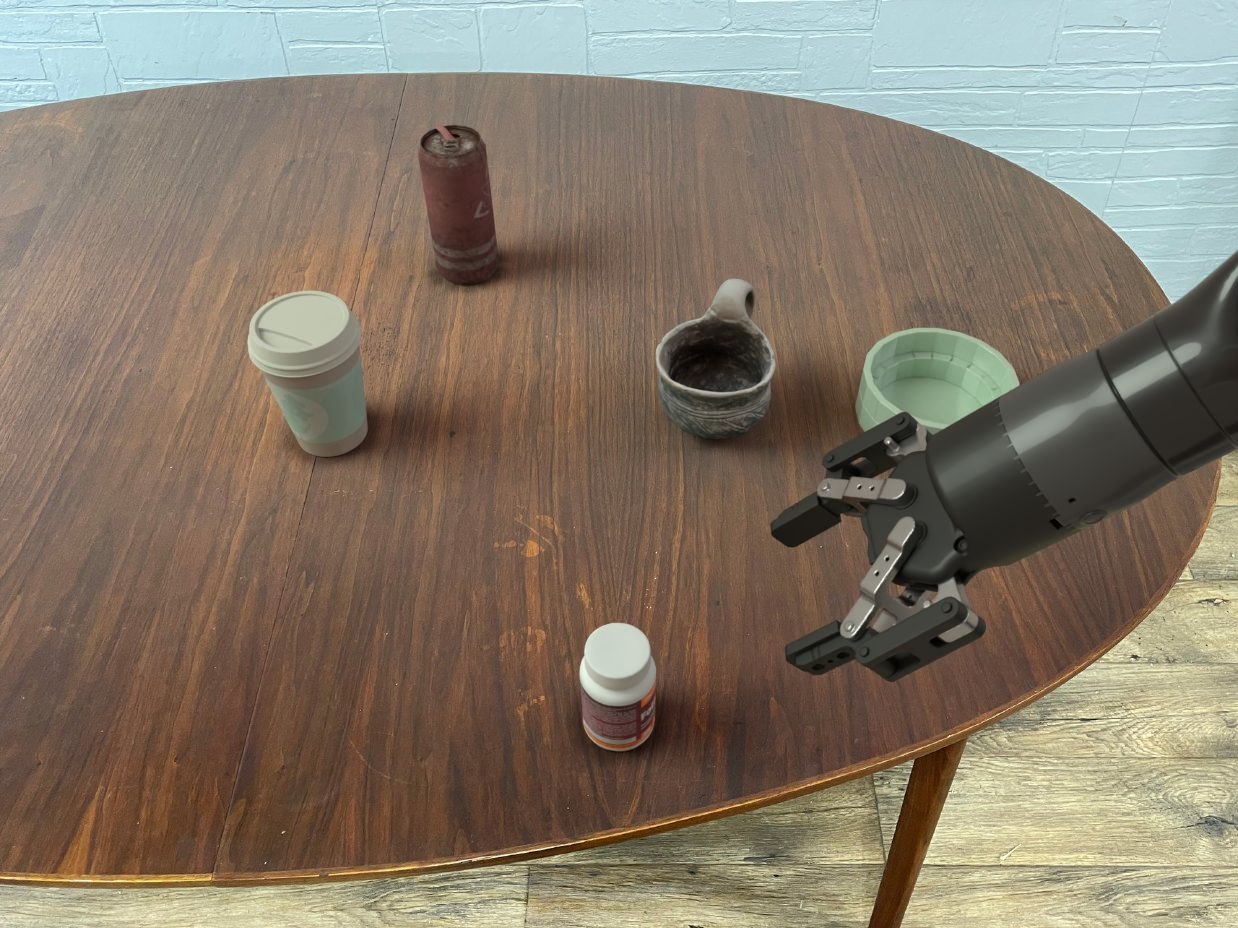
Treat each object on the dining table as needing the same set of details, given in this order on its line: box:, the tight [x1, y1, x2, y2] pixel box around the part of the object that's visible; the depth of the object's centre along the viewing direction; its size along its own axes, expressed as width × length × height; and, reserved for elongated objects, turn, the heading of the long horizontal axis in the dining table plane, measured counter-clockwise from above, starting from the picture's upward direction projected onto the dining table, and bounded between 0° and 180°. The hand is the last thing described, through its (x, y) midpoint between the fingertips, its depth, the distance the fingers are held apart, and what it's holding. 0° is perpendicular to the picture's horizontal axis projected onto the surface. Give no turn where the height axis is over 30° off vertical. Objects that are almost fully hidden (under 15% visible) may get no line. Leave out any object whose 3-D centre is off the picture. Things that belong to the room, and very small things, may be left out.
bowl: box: [854, 327, 1021, 435], centre depth 86 cm, size 12×12×5 cm
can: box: [417, 124, 500, 286], centre depth 98 cm, size 6×6×14 cm
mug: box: [655, 278, 776, 440], centre depth 85 cm, size 10×12×10 cm
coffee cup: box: [247, 290, 369, 458], centre depth 83 cm, size 9×8×12 cm
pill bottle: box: [579, 622, 657, 752], centre depth 65 cm, size 5×5×8 cm
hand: (786, 596), depth 59 cm, fingers open, 8 cm apart
